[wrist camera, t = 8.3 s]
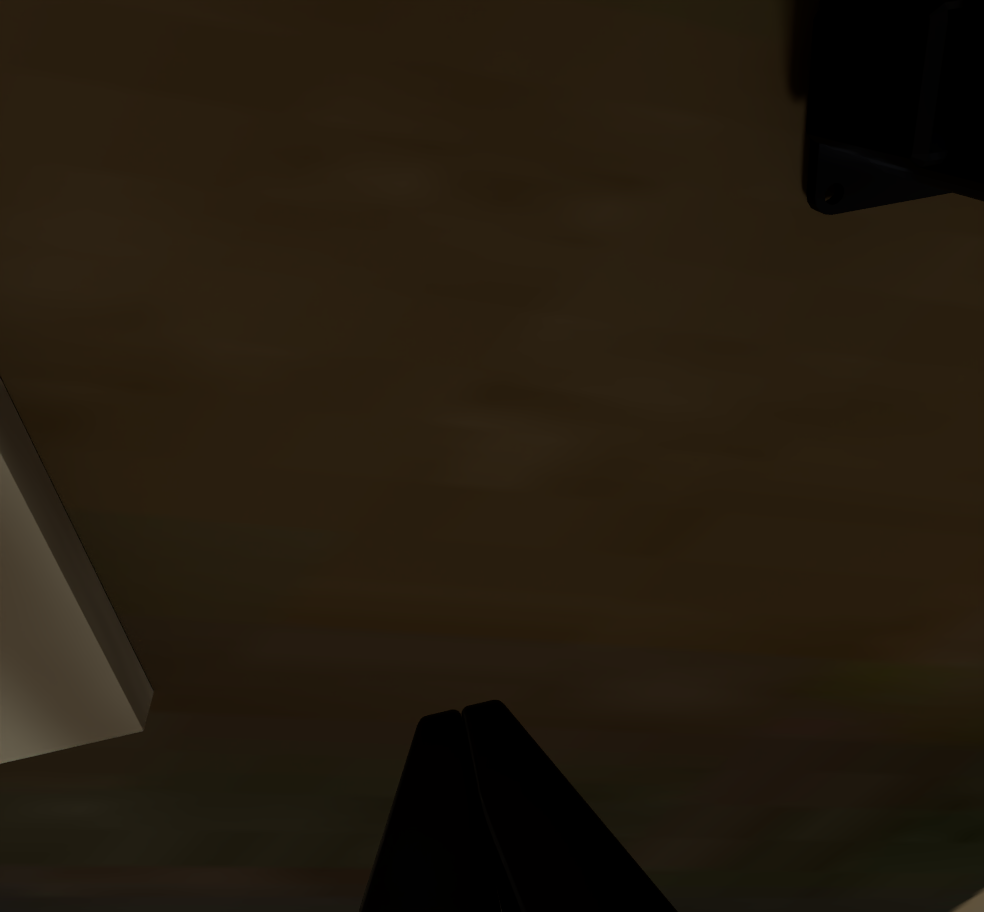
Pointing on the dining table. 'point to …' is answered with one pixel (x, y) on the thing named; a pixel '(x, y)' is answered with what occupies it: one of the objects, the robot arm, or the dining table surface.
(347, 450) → the dining table surface
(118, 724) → the key board
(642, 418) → the dining table surface
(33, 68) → the dining table surface
